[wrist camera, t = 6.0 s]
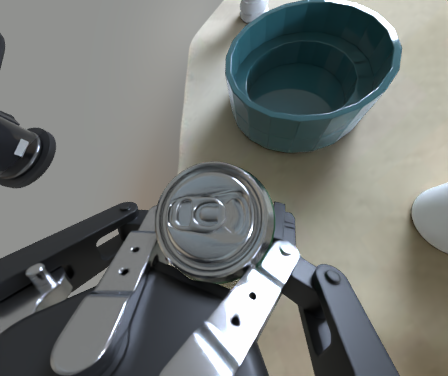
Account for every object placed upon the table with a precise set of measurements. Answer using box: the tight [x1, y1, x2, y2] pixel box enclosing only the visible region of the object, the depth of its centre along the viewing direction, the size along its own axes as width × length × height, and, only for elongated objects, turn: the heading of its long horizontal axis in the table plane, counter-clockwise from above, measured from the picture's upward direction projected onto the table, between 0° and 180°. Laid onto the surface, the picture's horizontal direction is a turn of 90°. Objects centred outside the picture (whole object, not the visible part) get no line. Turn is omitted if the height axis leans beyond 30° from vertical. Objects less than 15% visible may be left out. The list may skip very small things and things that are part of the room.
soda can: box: [155, 162, 276, 284], centre depth 12 cm, size 5×5×12 cm
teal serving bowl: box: [225, 0, 402, 153], centre depth 19 cm, size 15×15×6 cm
